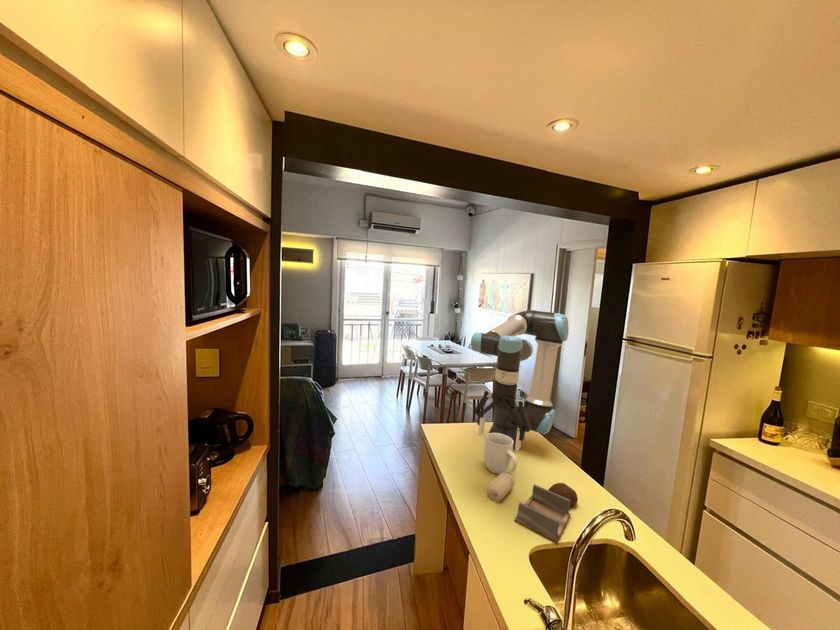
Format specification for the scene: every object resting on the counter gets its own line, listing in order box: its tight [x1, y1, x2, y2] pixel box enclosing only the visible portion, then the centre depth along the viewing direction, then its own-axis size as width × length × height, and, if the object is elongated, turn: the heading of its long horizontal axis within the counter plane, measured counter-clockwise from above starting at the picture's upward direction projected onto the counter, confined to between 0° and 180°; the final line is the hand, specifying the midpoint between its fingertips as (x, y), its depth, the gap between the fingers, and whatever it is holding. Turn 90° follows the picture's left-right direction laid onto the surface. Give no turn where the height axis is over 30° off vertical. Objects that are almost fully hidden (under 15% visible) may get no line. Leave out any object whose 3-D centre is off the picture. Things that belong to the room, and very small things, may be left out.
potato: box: [548, 482, 579, 507], centre depth 118 cm, size 7×10×7 cm
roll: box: [486, 472, 515, 503], centre depth 119 cm, size 10×6×6 cm, turn 143°
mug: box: [483, 432, 518, 475], centre depth 134 cm, size 15×11×13 cm
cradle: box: [514, 483, 572, 544], centre depth 108 cm, size 16×13×6 cm
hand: (498, 441), depth 115 cm, fingers open, 13 cm apart
